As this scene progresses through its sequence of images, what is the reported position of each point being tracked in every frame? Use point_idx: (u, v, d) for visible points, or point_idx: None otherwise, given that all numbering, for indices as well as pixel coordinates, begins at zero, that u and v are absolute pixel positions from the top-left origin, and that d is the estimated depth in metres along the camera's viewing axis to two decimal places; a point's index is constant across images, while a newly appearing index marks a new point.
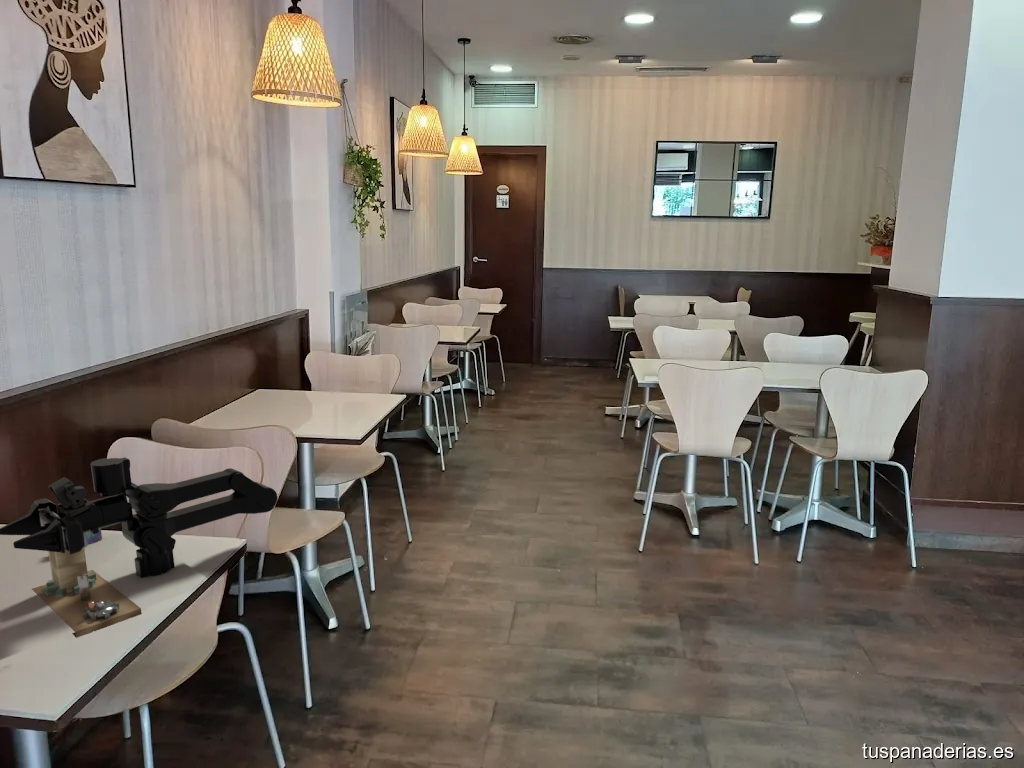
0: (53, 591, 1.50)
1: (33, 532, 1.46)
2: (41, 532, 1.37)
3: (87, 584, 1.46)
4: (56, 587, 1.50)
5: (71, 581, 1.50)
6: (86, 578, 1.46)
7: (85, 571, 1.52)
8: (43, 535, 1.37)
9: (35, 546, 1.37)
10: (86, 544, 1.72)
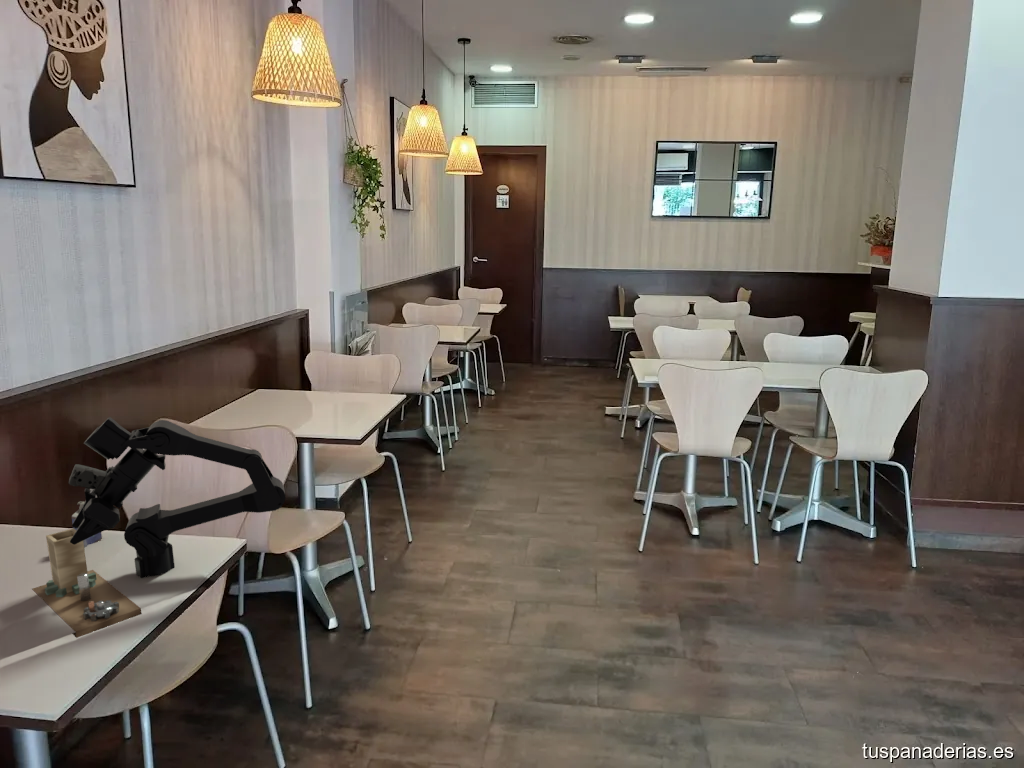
0: (53, 591, 1.50)
1: None
2: (81, 523, 1.46)
3: (87, 584, 1.46)
4: (56, 587, 1.50)
5: (71, 581, 1.50)
6: (86, 578, 1.46)
7: (85, 571, 1.52)
8: (83, 525, 1.46)
9: (87, 534, 1.47)
10: (86, 544, 1.72)
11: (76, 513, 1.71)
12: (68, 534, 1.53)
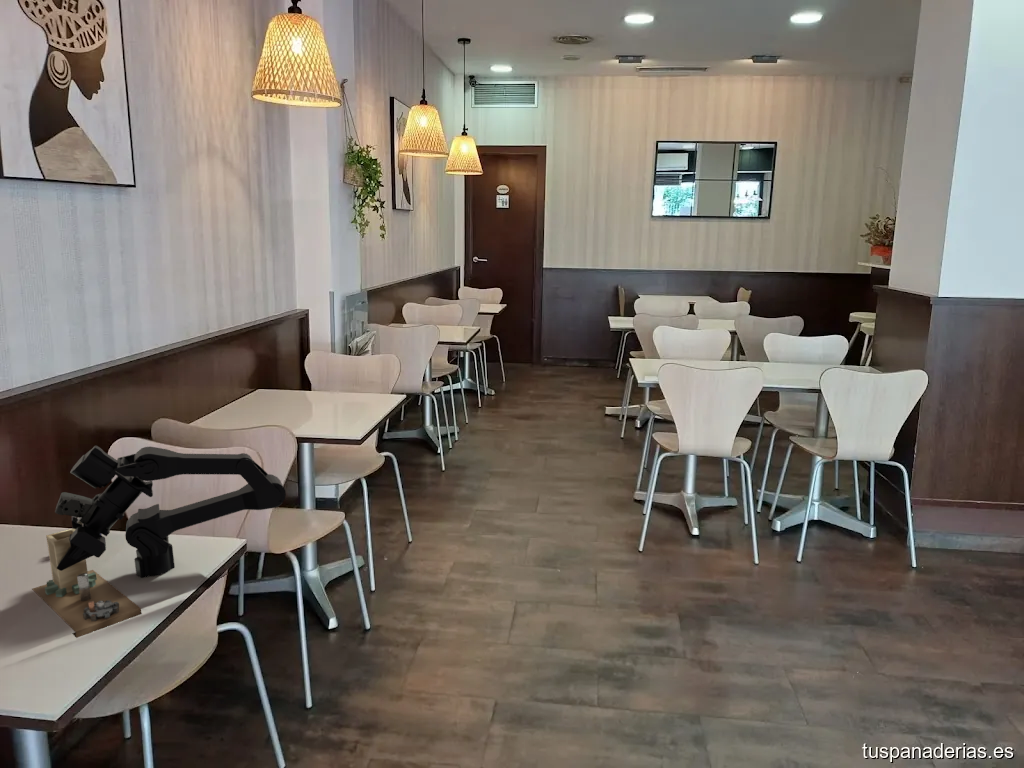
0: (53, 591, 1.50)
1: None
2: (68, 550, 1.47)
3: (87, 584, 1.46)
4: (56, 587, 1.50)
5: (71, 581, 1.50)
6: (86, 578, 1.46)
7: (85, 571, 1.52)
8: (70, 551, 1.47)
9: (74, 560, 1.48)
10: None
11: None
12: (68, 534, 1.53)
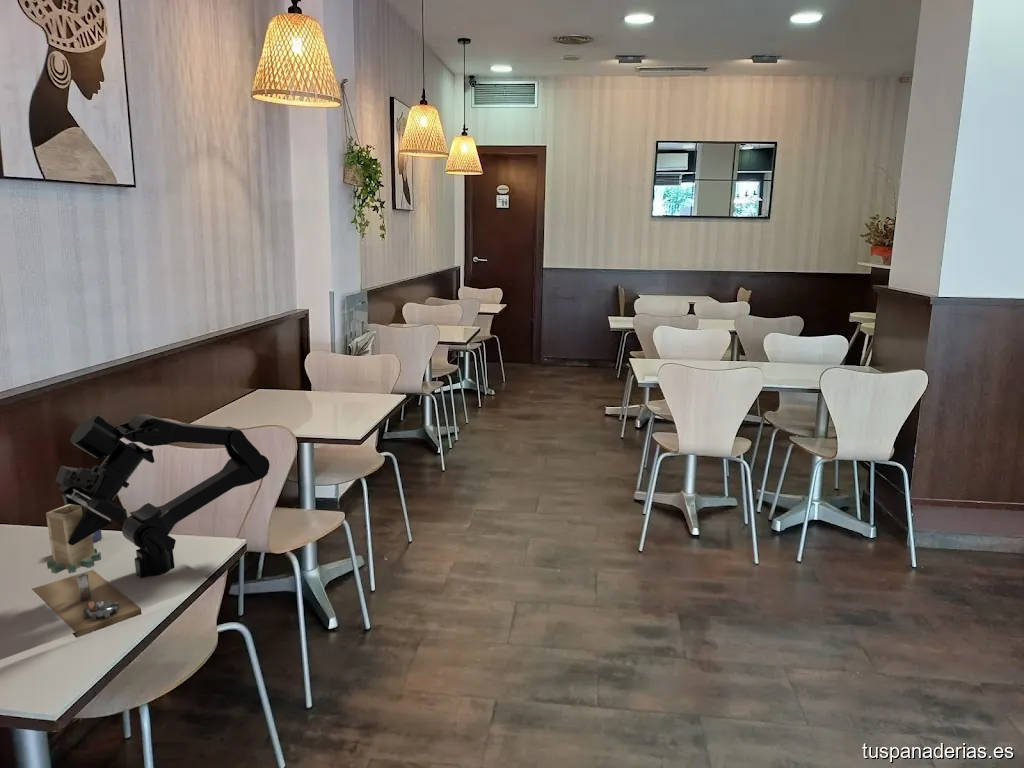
0: (61, 569, 1.44)
1: None
2: (81, 522, 1.43)
3: (87, 584, 1.46)
4: (63, 564, 1.44)
5: (80, 556, 1.45)
6: (86, 578, 1.46)
7: (91, 545, 1.47)
8: (84, 523, 1.43)
9: (87, 533, 1.44)
10: None
11: None
12: (66, 510, 1.47)
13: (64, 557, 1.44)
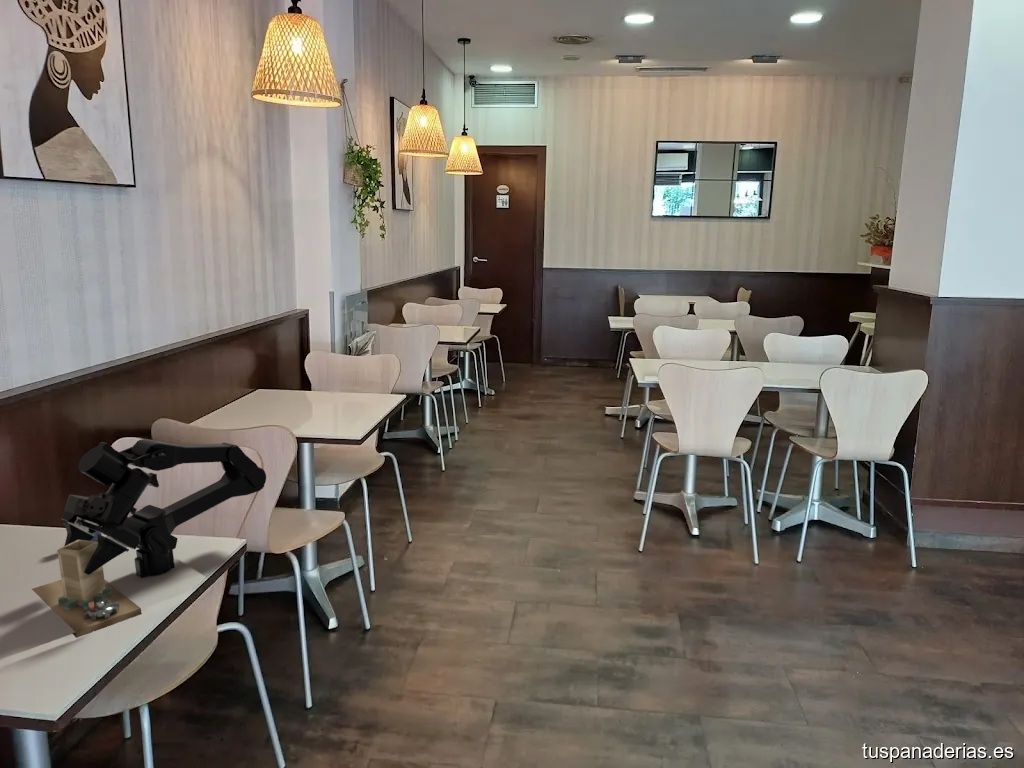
0: (74, 605, 1.44)
1: None
2: (97, 551, 1.43)
3: None
4: (76, 600, 1.44)
5: (92, 591, 1.46)
6: None
7: (102, 579, 1.48)
8: (100, 552, 1.43)
9: (102, 561, 1.44)
10: None
11: None
12: (76, 546, 1.47)
13: (77, 593, 1.44)
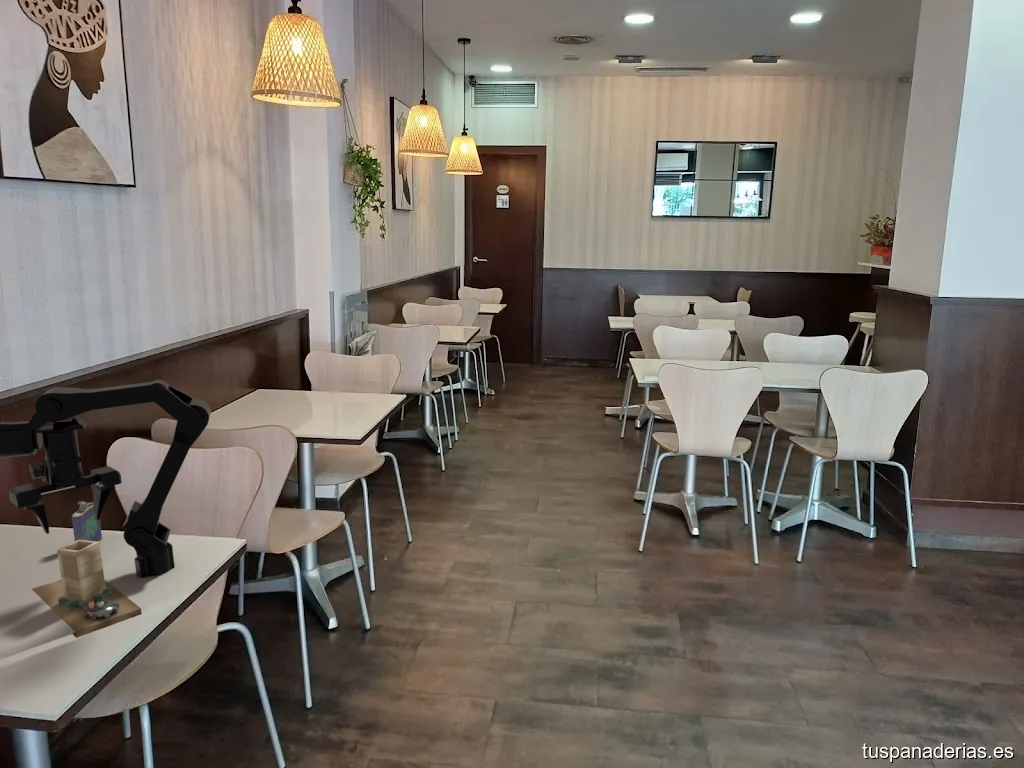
0: (74, 605, 1.44)
1: (99, 496, 1.54)
2: None
3: None
4: (76, 600, 1.44)
5: (92, 591, 1.46)
6: None
7: (102, 579, 1.48)
8: (34, 513, 1.48)
9: (41, 521, 1.47)
10: None
11: (76, 513, 1.71)
12: (76, 546, 1.47)
13: (77, 593, 1.44)
